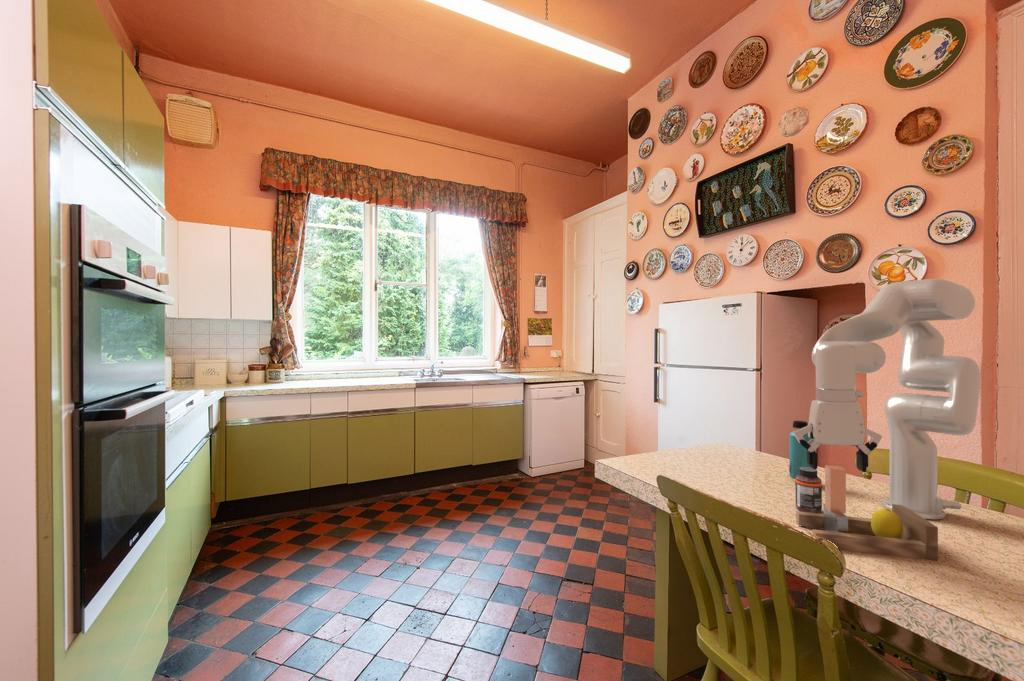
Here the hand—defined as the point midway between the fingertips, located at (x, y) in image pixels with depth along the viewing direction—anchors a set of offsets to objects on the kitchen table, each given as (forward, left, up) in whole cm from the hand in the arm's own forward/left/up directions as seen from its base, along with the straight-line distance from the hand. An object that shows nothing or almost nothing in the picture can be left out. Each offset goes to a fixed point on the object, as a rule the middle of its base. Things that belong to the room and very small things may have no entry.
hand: (837, 468), depth 102 cm
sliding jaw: (+1, +1, -16) cm, 16 cm away
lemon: (-9, +1, -16) cm, 19 cm away
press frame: (-4, +1, -16) cm, 17 cm away
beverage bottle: (-5, -42, -16) cm, 46 cm away
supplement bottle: (+1, -16, -16) cm, 23 cm away
